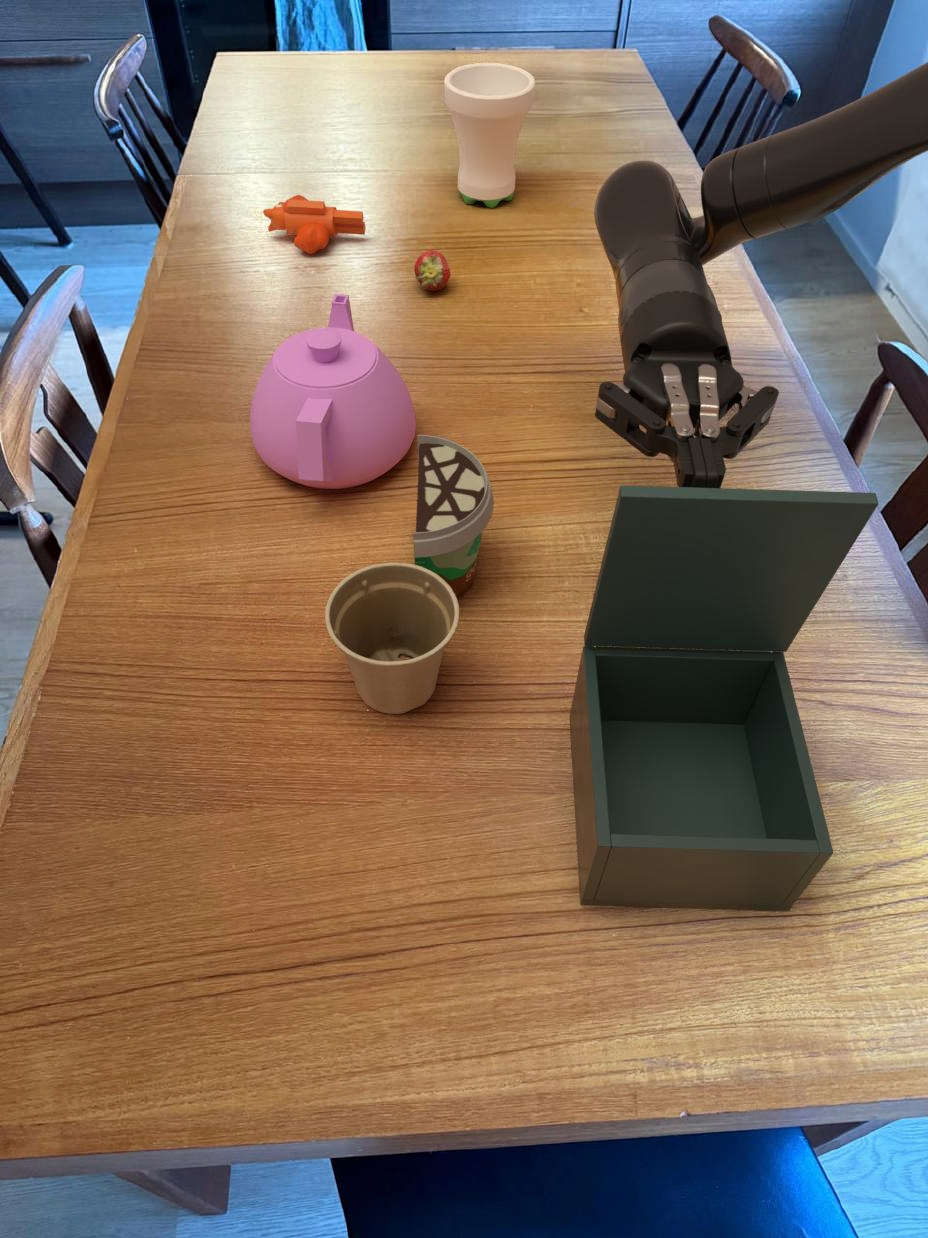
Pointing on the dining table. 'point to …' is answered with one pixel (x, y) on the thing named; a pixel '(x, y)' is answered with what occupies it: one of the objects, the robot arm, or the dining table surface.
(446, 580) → the food container
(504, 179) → the cup
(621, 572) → the lid
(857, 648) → the dining table surface
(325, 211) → the orange long irregular piece
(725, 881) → the caddy
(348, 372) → the teapot
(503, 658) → the dining table surface
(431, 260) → the fruit
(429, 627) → the flower pot
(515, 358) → the dining table surface
